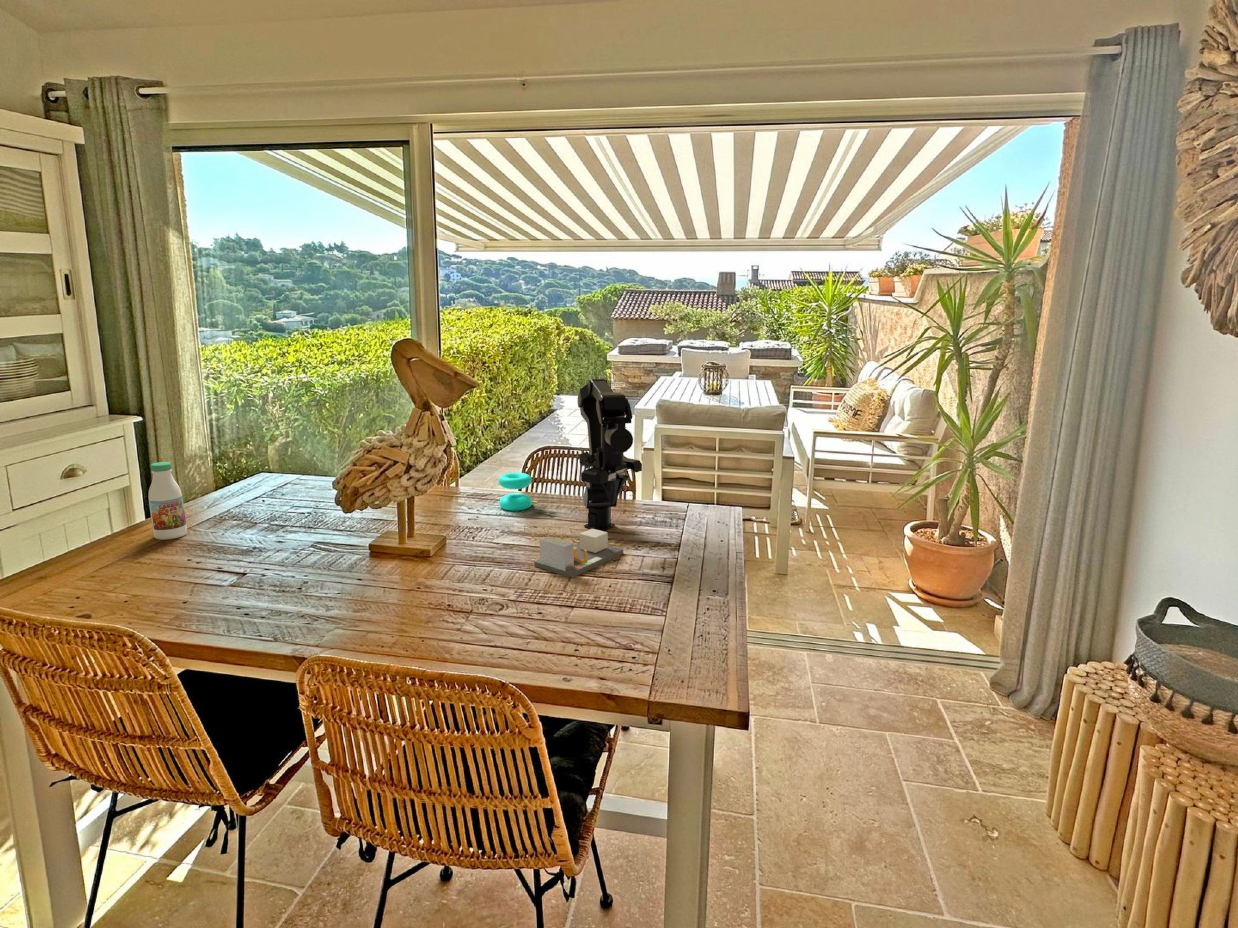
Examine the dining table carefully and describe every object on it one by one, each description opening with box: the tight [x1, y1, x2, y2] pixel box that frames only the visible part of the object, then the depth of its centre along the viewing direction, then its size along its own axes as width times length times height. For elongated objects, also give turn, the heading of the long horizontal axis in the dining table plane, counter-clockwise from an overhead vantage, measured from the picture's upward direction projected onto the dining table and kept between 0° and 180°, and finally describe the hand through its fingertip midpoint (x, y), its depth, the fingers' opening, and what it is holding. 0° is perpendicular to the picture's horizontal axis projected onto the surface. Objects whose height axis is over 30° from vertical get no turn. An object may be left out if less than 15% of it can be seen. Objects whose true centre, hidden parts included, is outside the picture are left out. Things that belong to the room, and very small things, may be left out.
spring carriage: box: [579, 528, 609, 553], centre depth 184 cm, size 5×5×4 cm
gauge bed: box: [533, 536, 624, 579], centre depth 180 cm, size 20×12×7 cm, turn 143°
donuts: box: [498, 472, 533, 512], centre depth 222 cm, size 10×10×10 cm
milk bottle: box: [147, 461, 188, 540], centre depth 193 cm, size 8×8×20 cm
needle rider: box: [574, 547, 587, 564], centre depth 176 cm, size 2×8×4 cm, turn 53°
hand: (612, 502), depth 188 cm, fingers closed
